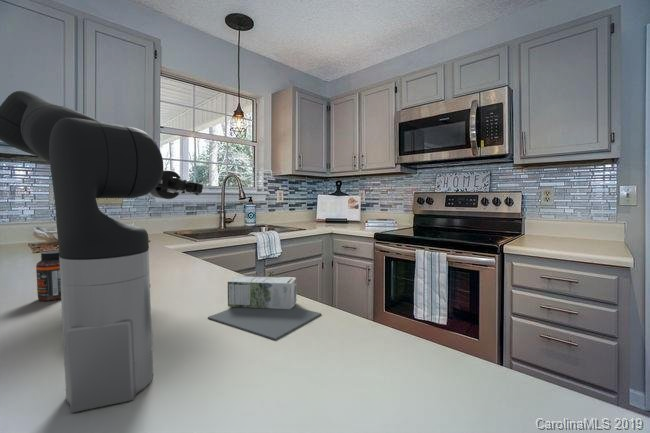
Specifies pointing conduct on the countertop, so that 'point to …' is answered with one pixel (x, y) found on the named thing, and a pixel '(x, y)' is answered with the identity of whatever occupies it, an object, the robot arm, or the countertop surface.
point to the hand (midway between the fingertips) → (199, 188)
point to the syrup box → (262, 292)
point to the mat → (265, 320)
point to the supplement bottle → (49, 276)
